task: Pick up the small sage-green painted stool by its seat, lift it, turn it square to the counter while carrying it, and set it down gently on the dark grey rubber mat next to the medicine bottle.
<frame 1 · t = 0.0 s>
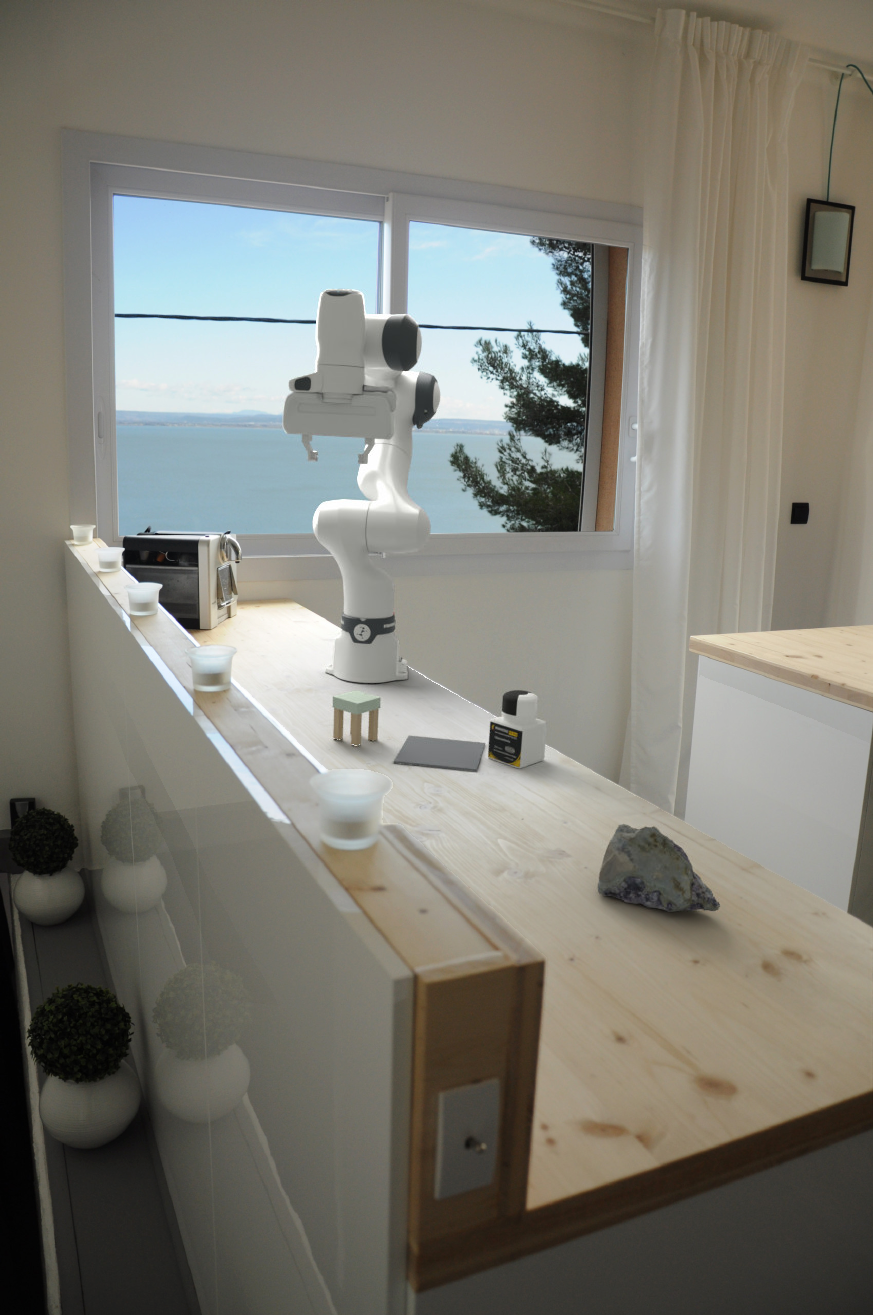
hand: (337, 462, 173), 48 cm above the worktop, tool pointing down, fingers open, 8 cm apart
stool: (355, 739, 170), on the worktop
mineral rock: (651, 908, 115), on the worktop
mat: (441, 753, 165), on the worktop
medicine bottle: (515, 760, 164), on the worktop
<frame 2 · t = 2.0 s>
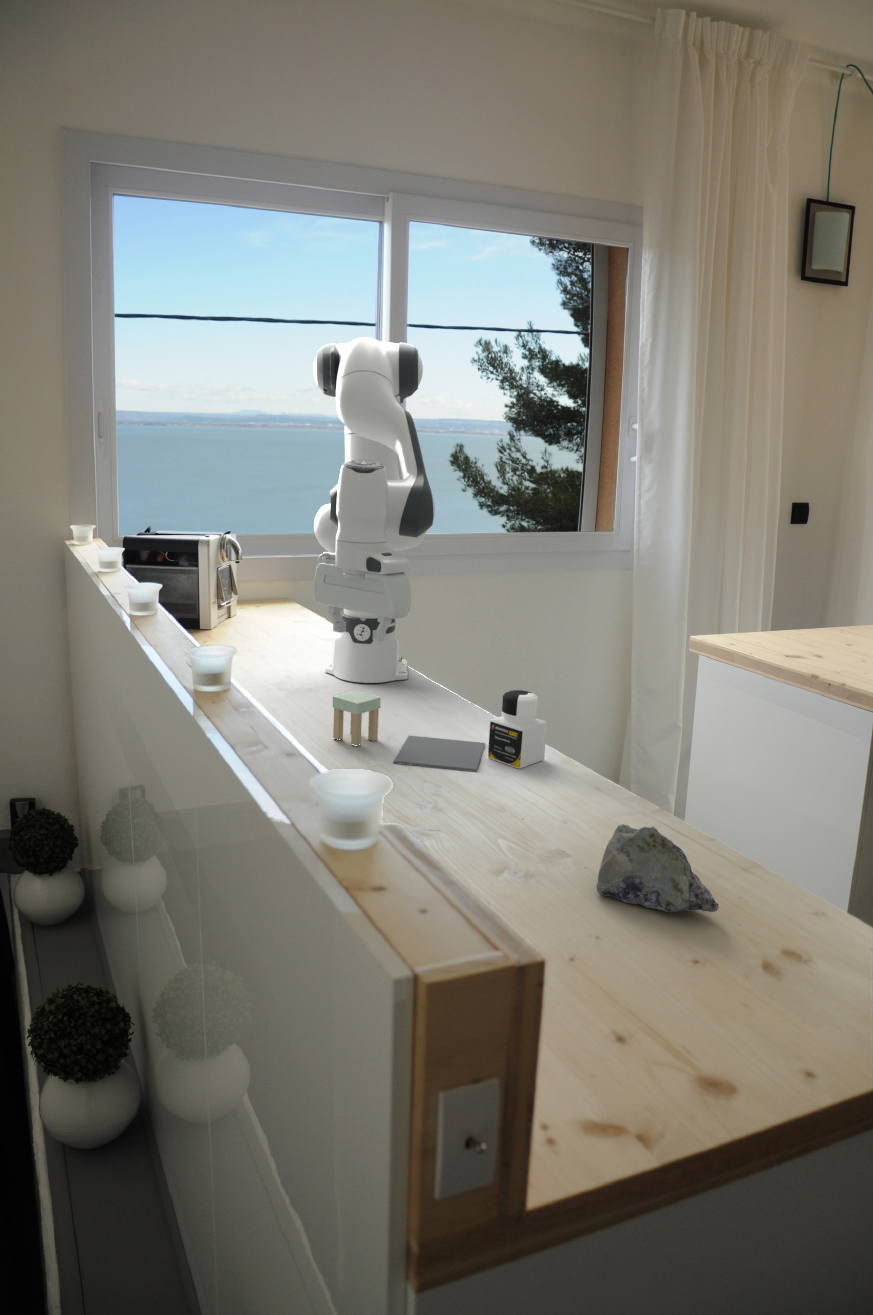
hand: (358, 636, 165), 19 cm above the worktop, tool pointing down, fingers open, 8 cm apart
nothing on the worktop moved.
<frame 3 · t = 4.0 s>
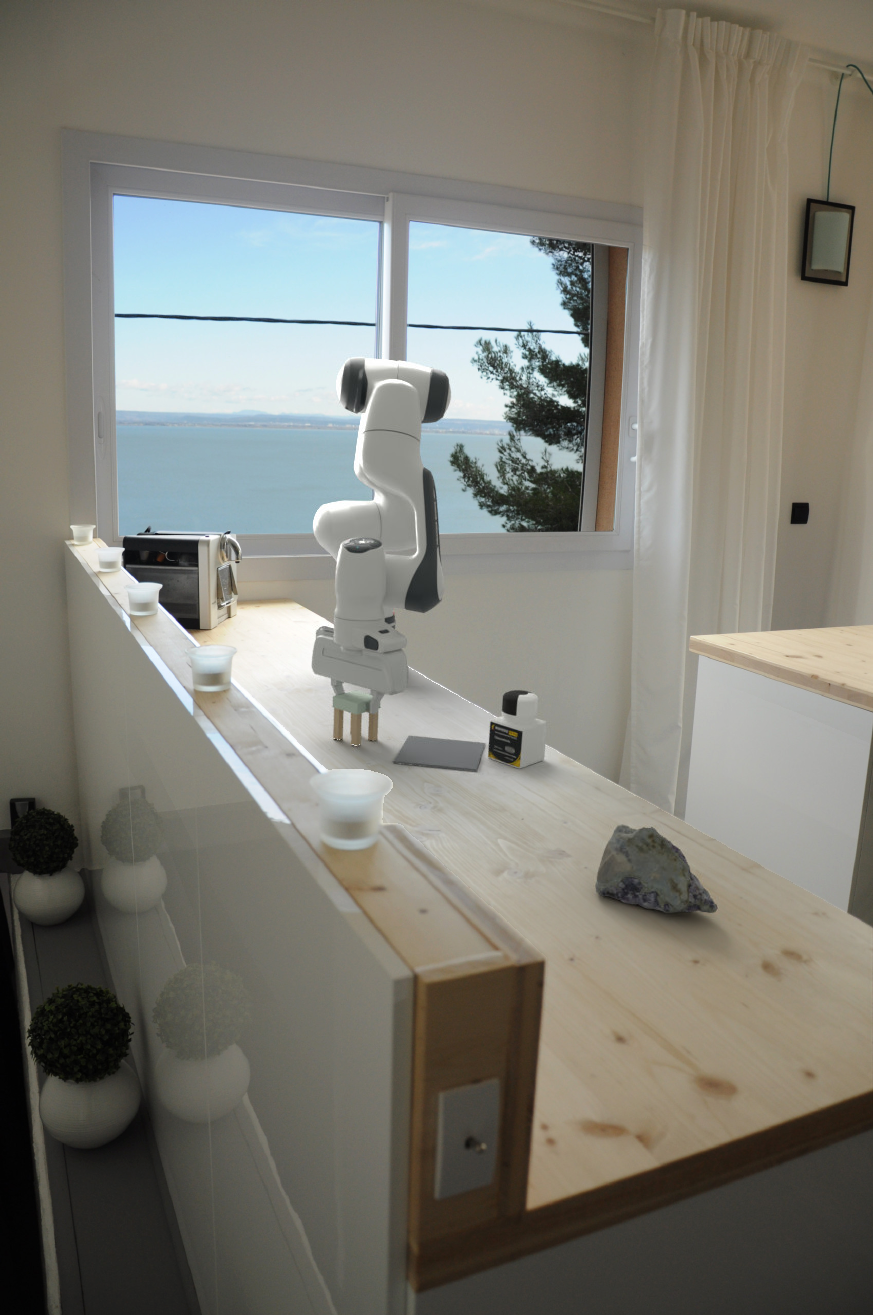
hand: (356, 708, 169), 6 cm above the worktop, tool pointing down, fingers closed on stool, 6 cm apart
stool: (355, 739, 170), on the worktop, touching gripper
everything else where it was.
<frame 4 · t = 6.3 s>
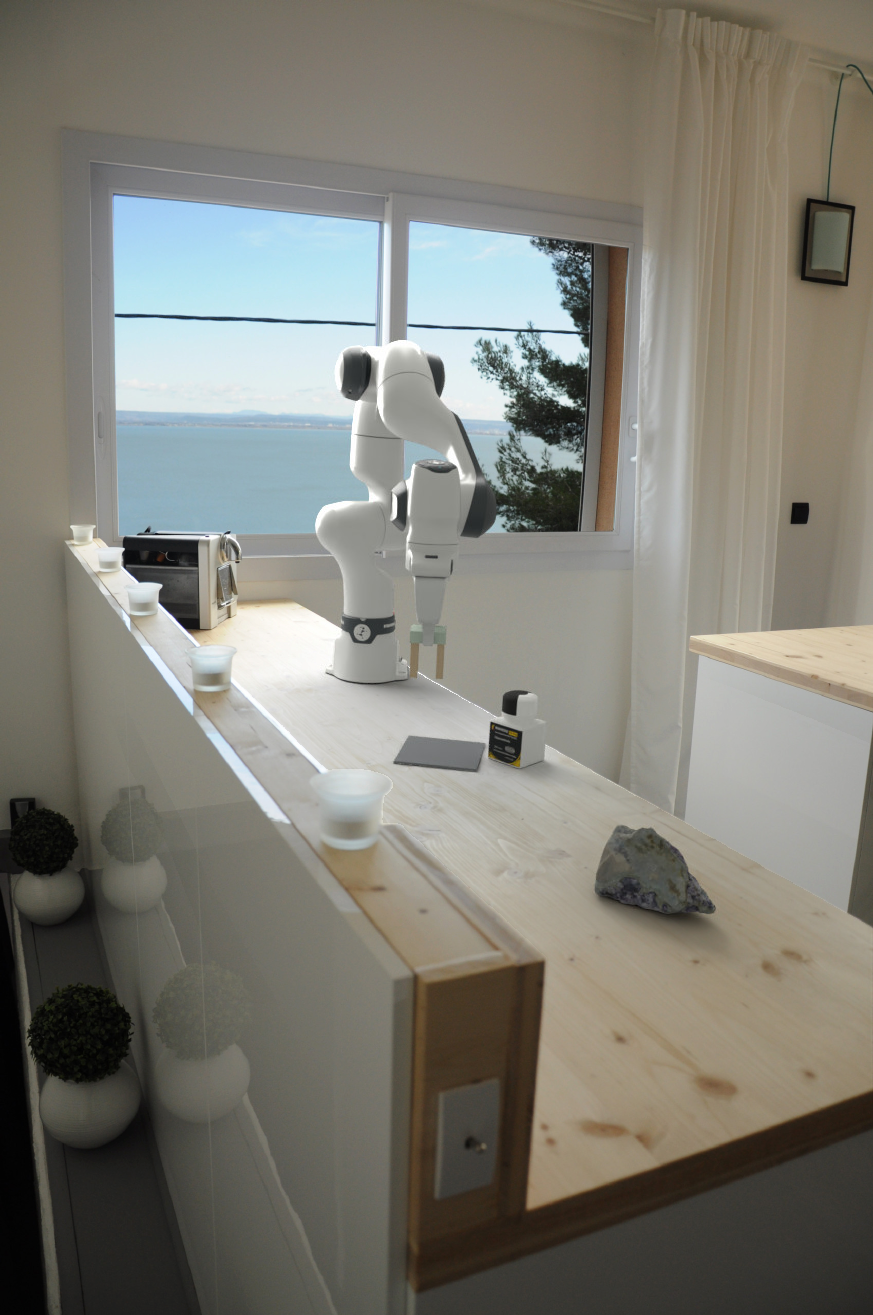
hand: (428, 640, 161), 20 cm above the worktop, tool pointing down, fingers closed on stool, 6 cm apart
stool: (426, 674, 162), point 14 cm above the worktop, touching gripper
everything else where it was.
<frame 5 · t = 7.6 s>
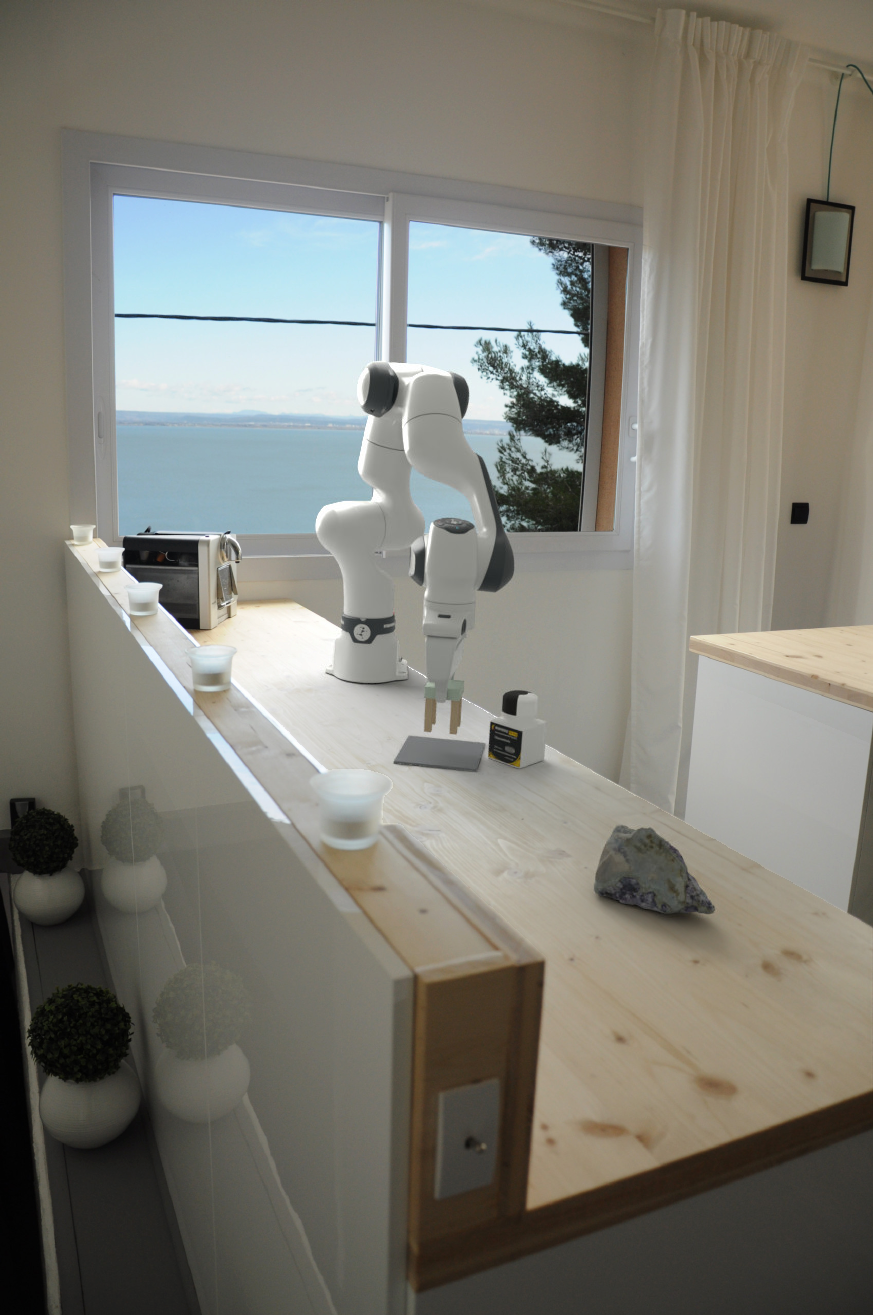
hand: (444, 695, 162), 11 cm above the worktop, tool pointing down, fingers closed on stool, 6 cm apart
stool: (442, 728, 164), point 5 cm above the worktop, touching gripper
everything else where it was.
when the fingers open (7 cm above the worktop, at t = 8.8 s): stool stays where it is, resting on mat.
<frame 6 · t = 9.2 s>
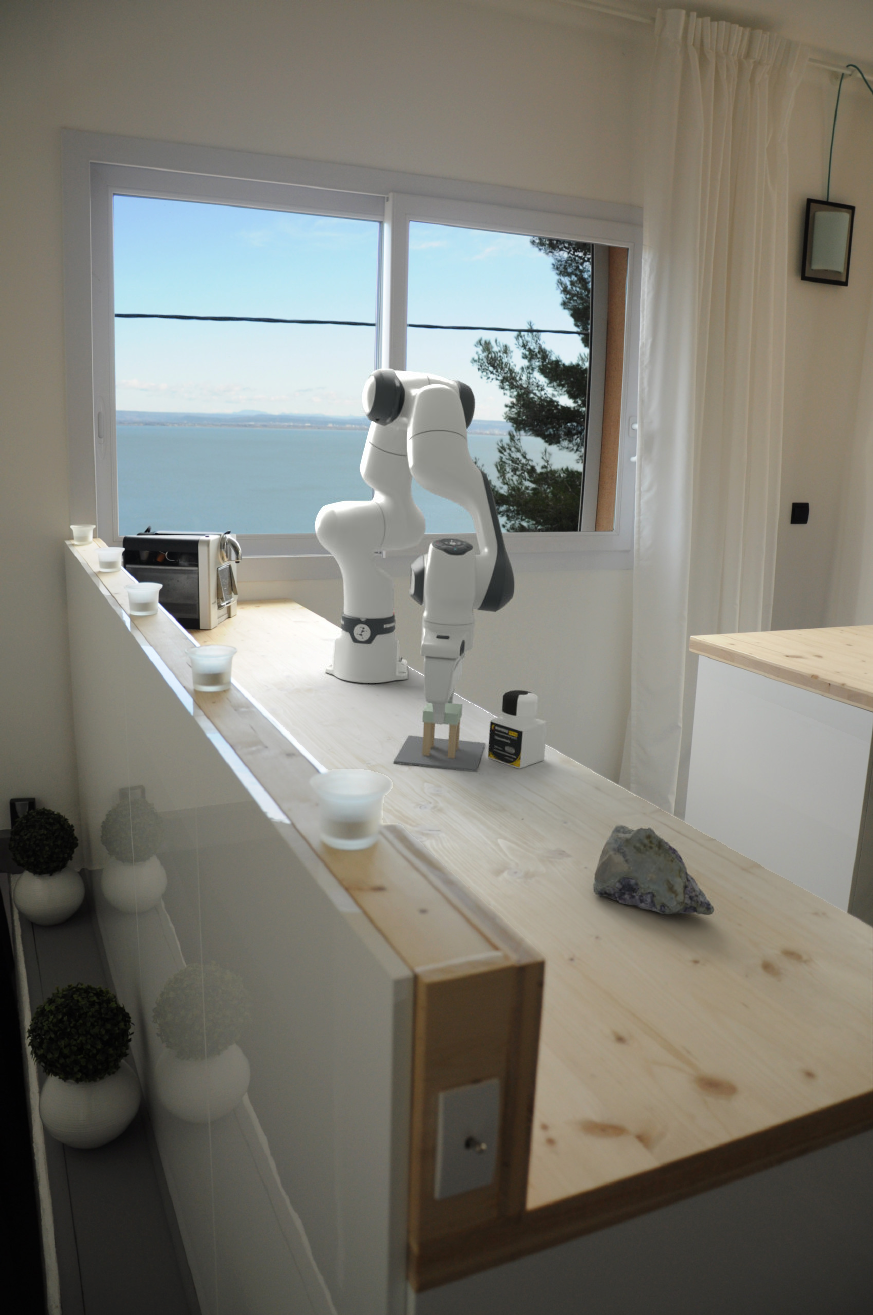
hand: (443, 714, 163), 7 cm above the worktop, tool pointing down, fingers open, 8 cm apart
stool: (440, 751, 165), resting on mat
everything else where it was.
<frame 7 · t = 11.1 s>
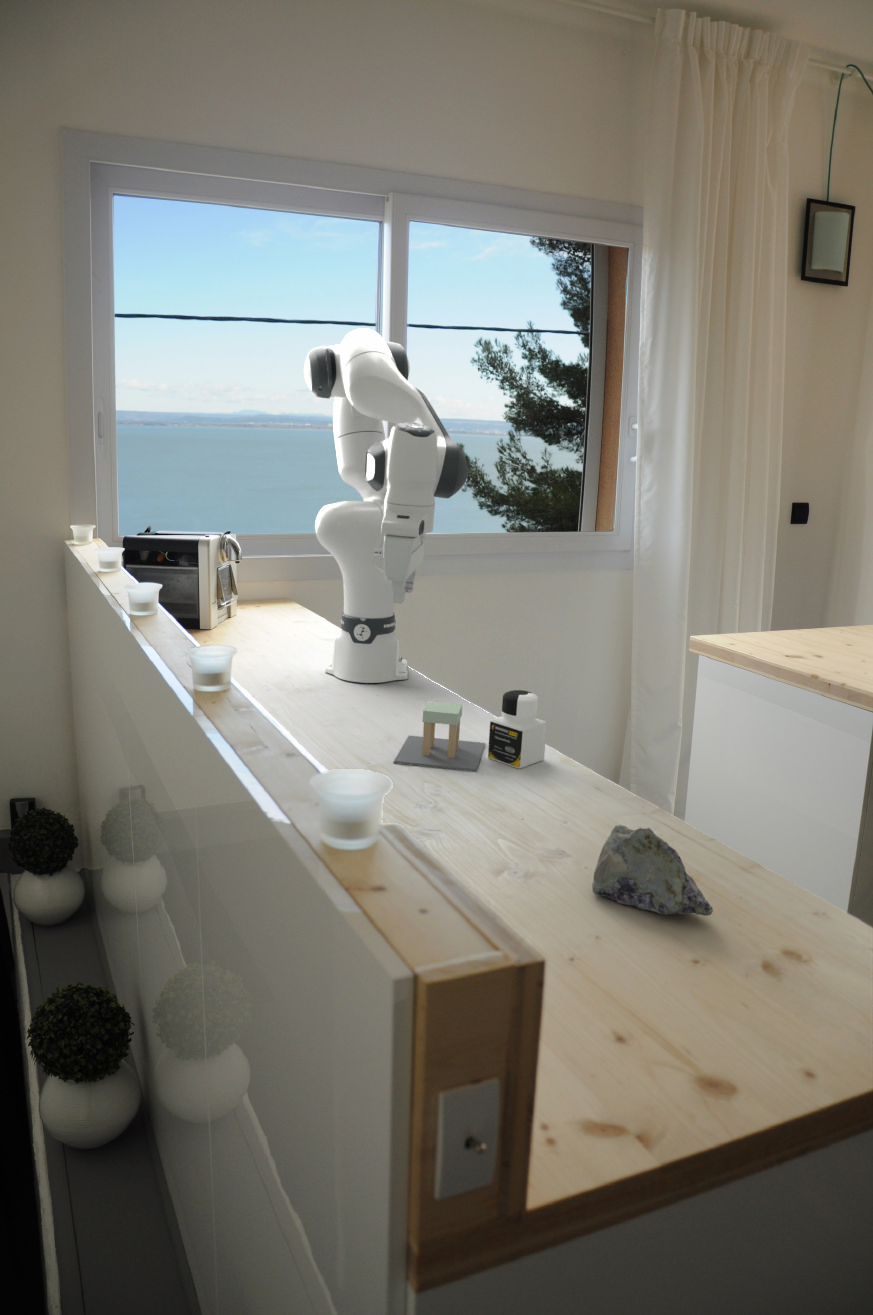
hand: (403, 597, 169), 26 cm above the worktop, tool pointing down, fingers open, 8 cm apart
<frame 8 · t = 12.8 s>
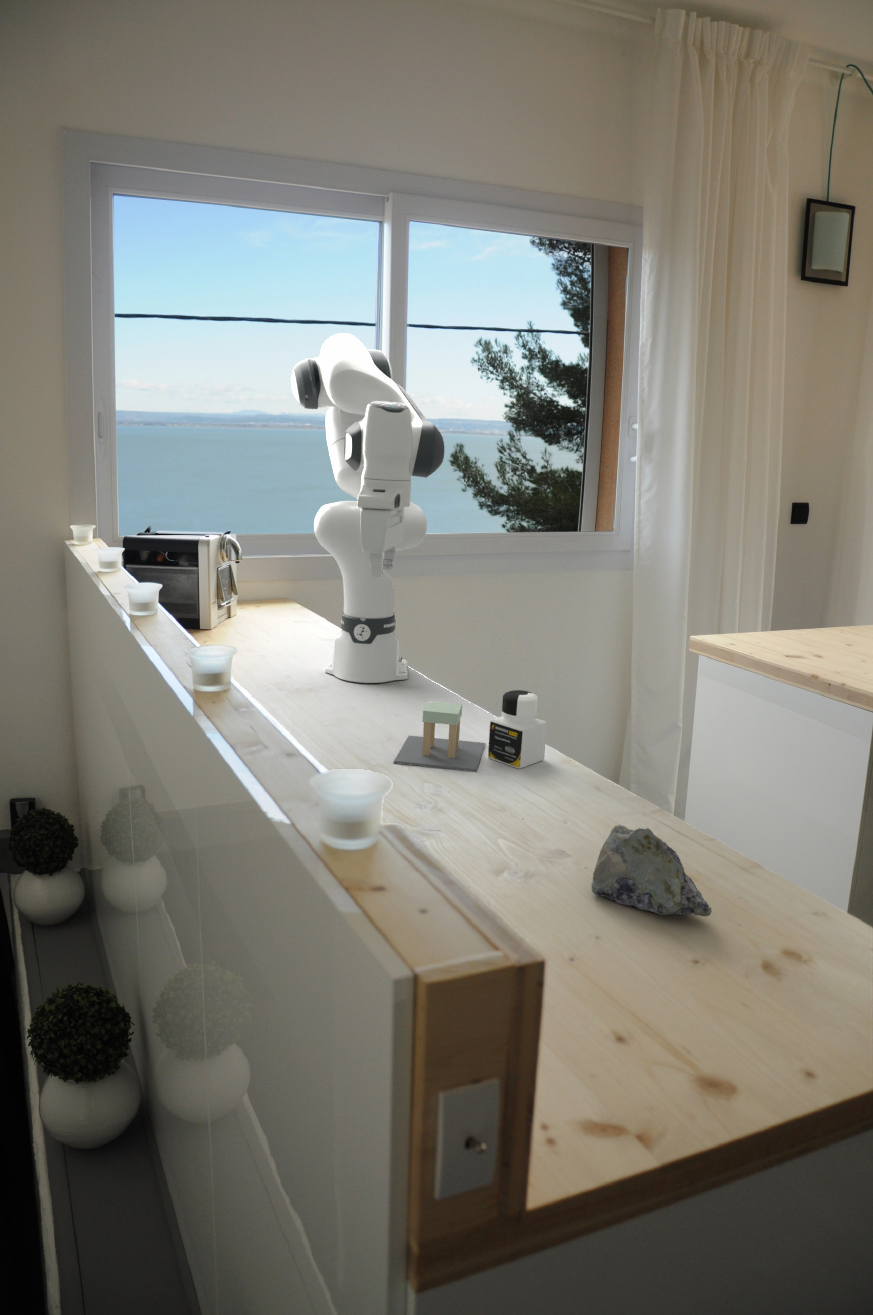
hand: (382, 572, 172), 29 cm above the worktop, tool pointing down, fingers open, 8 cm apart
at the end: stool inside the target area on the mat (0.1 cm from its centre), point 0.4 cm above the mat's base; stool tilted 0°; the gripper is holding nothing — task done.
